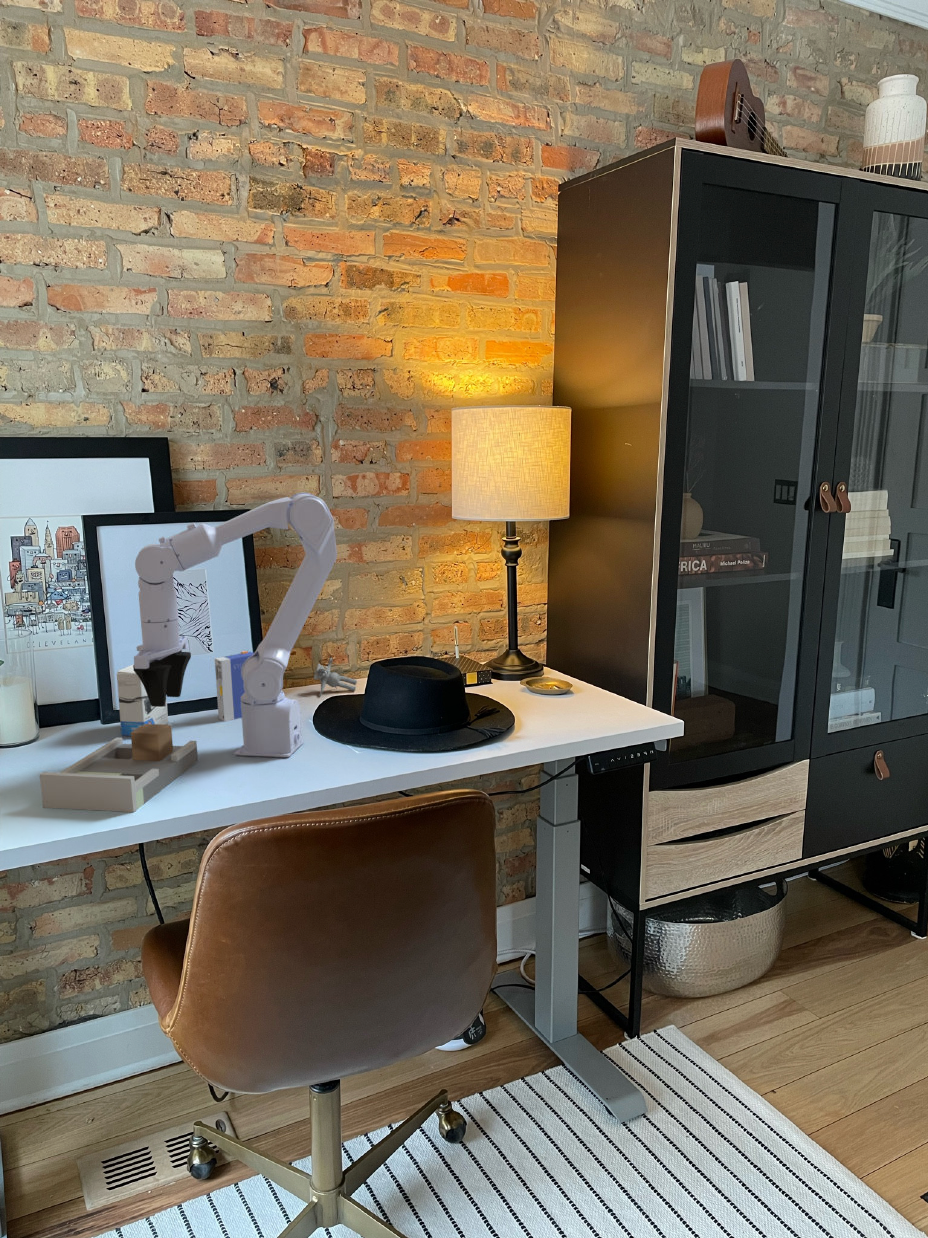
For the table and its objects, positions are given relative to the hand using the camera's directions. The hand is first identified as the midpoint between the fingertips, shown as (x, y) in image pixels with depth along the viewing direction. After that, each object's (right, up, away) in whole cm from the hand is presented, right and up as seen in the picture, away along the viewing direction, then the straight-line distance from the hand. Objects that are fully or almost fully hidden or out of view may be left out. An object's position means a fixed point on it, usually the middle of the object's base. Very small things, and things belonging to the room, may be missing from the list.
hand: (166, 701), depth 150 cm
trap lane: (-3, -12, -8) cm, 15 cm away
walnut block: (-1, -8, -4) cm, 9 cm away
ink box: (-10, -7, +18) cm, 21 cm away
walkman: (+6, -5, +25) cm, 27 cm away
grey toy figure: (+22, -2, +42) cm, 47 cm away
